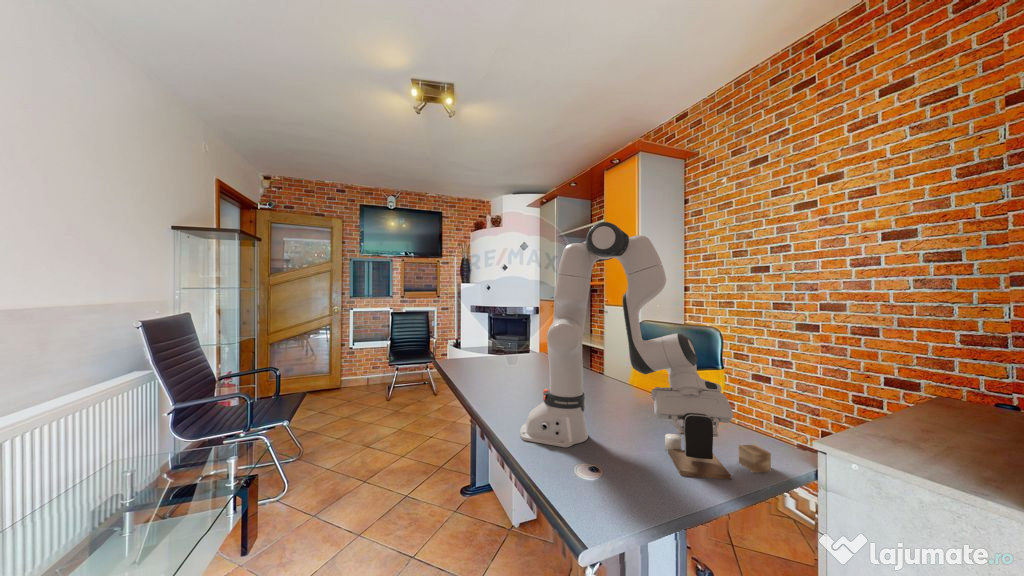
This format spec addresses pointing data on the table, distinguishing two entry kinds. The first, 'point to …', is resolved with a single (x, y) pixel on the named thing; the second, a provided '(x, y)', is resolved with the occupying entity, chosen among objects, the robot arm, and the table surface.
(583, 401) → the robot arm
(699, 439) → the battery charger
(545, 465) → the table surface
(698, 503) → the table surface
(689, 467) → the walnut pad
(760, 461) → the oak cube
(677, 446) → the plastic capsule
